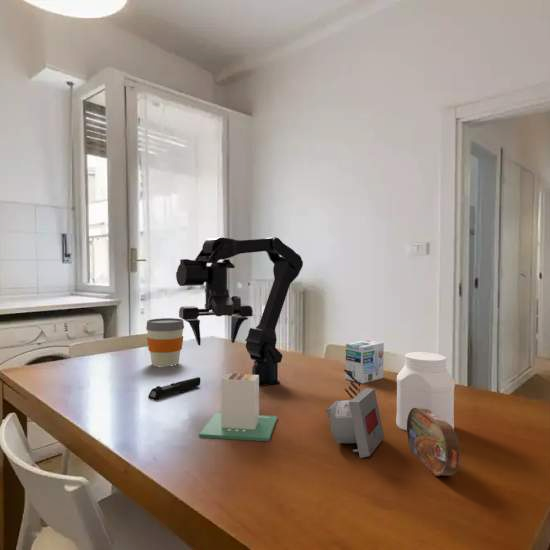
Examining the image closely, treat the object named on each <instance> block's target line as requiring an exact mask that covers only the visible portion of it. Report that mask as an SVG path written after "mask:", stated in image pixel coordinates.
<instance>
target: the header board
mask: <svg viewBox="0 0 550 550" xmlns="http://www.w3.org/2000/svg"><path fill="white" fill-rule="evenodd" d="M277 420H278V415H267V414H265V415H263V414H261V415H260V414H259V422H258V424H257V426H256V428H255V430H254V429H237V428H221V412H215V413H214V414H213V415H212V417H211V418H210V419H209V421H208V422H207V423H206V424H205V426H204V427H203V428H202V429H201V431H200V432H199V434H198V437H199V438H206V439H207V438H208V439H225V440H226V439H228V440H238V439H239V440H241V441H242V440H243V441H254V440H255V442H256V441H257V442H270V439H271V437H272V434H273V431H274V429H275V425H276V423H277Z"/></svg>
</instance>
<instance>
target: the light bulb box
mask: <svg viewBox="0 0 550 550" xmlns="http://www.w3.org/2000/svg"><path fill="white" fill-rule="evenodd" d="M384 347H385V344H384V342H379V341H373V340H369V339H365V340H360V341H359V340H358V341H354V342H347V343H345V370H347V372H349V373H350V375H351V376H353V377H354V379H356V380H357V381H358V382H360V384H366V383H369V382H373V381H376V380H380V379H384V356H385V355H384V354H385V353H384V349H385V348H384ZM345 380H349V381H352V382H355V381H354V380H353V379H352V378H351V377H350V376H349V375H348V374H347V373H346V372H345Z"/></svg>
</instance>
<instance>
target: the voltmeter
mask: <svg viewBox="0 0 550 550" xmlns="http://www.w3.org/2000/svg"><path fill="white" fill-rule="evenodd" d="M344 373H345V374H346V373H347V374H348V375H349V376H350V377H351V378H352V379H353V380H354V381H352V380H350V384H351V386H352V387H353V388H354V389H355V390H356V391H358V393H357V392H355V390H354V389H353V388H352V387H351V386H350V385H349V386H348V389H349V390H348V389H347V388H344V391H345V392H346V393H347V395H348V396H349V397H350V398H351V399H347V400H346V399H344V400H335V401H334V402H333V403H332V404H331V405H330V406H329V407H327V408H326V409H325V411H326V415H327V419H329V424H330V429H331V434H332V437H333V439H334V440H335V442H336V443H338V444H356V445H357V449H352V452H353V453H358V454H359V459H360V458H367V457H370V456H371V455H372V453H374V451H375V450H376V448H377V447H378V446H379V445H380V443H381V442H382V441H383V440H384V439H385V434H384V430H383V424H382V420H381V415H380V410H379V405H378V401H377V400H378V399H377V394H376V390H375V388H368V387H365V388H364V389H362V390H361V388H358V387H361V383H360V382H358V381H357V380H356V379H354V377H353V376H351V375H350V373H349V372H347V370H346V368H344ZM354 382H355V383H356V384H357V385H358V386H357V385H355V383H354ZM360 390H361V391H360ZM349 391H350V392H351V393H353V394H354V396H353V395H352V394H351V393H350V392H349Z"/></svg>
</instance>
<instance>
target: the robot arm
mask: <svg viewBox="0 0 550 550" xmlns="http://www.w3.org/2000/svg"><path fill="white" fill-rule="evenodd" d="M259 252H260V253H261V252H266V254H267V256H268V259H269V260H270V262H271V263H273V269H272V271H273V276H274V280H273V283H272V284H271V285H272V286H271V287H270V288H271V289H270V291H269V295H268V298H267V300H266V302H265V305H264V306H265V307H264V309H263V312H262V315H261V318H260V321H259V322H258V325H257V326H256V327H250V328H249V330H248V334H247V337H246V338H245V340H244V341H245V342H246V343H245V348H246V350H247V353H248V354H249V356H250V360H252V361H253V365H252V366H251V368H252V369H251V370H252V371H251V372H252V373H251V374H252V375H259V387H260V386H267V385H277V384H281V381H280V380H279V379H278V376H279V375H278V374H279V373H278V370H279V369H278V367H279V366H278V364H279V363H281V362H282V358H283V356H284V355H283V354H282V353H281V352H280V351H279V350H278V348H276V346H277V345H276V344H277V339H278V338H277V334H276V328H277V325H278V322H279V319H280V316H281V312H282V311H283V306H284V304H285V301H286V298H287V294H288V292H289V288H290V286H291V284H292V283H293V282H294V281H295V280H296V279H297V278H298V276H299V274H300V272H301V271H302V269H303V265H304V261H303V259H302V257H301V255H299V254H298V253H296V252H295V250H294V249H292V248H291V247H289V246H288V245H286V243H284V242H283V241H282V240H281V238H279V237H275V236H274V237H273V236H272V237H266V238H256V239H245V240H244V239H243V240H240V239H239V240H238V239H234V238H227V237H214V238H212V237H211V238H207V239H206V240H204V242H203V243H202V249H201V250H200V252H199V253H198V255H197V256H196V258H195V259H187V258H185V259H183V258H182V259H180V260H179V261H180V262H179V263H180V264H179V265H178V267H177V270H176V272H175V279H176V283H177V284H178V286H180V287H195V286H196V287H200V286H204V284H205V288H204V294H205V303H204V308H199V307H198V306H196V305H195V306H194V305H191V306H189V305H188V306H186V305H185V306H180V308H179V310H178V318H179V319H183V321H185V322H186V323H189V326H190V328H191V330H192V332H193V335H194V337H195V341H196V344H197V345H198V346H201V343H202V341H201V338H202V337H201V331H200V330H201V329H200V324H201V320H200V319H199V318H198V317H199V316H200V317H203V316H215V317H222V316H228V317H230V319H231V321H230V323H231V324H230V340H231V342H230V343H232V344H234V343H235V341H236V338H237V336H238V333H239V330H240V327H241V326H242V324H243V323H244V322H245V321H247V320H248V318H249V317H253V316H254V315H253V312H254V311H253V308H252V307H251V305H249V304H244V303H243V304H242V301H241V296H240V295H233V296H231V297H230V295H229V292H230V291H229V289H228V269H234V268H235V265H234V264H233V263H232V262H231V261H230V258H234V257H236V256H237V255H240V254H248V253H250V254H251V253H259ZM220 260H222V261H220ZM208 264H210V265H208Z"/></svg>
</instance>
